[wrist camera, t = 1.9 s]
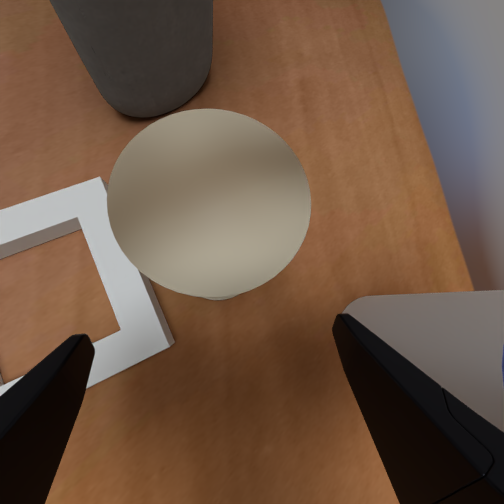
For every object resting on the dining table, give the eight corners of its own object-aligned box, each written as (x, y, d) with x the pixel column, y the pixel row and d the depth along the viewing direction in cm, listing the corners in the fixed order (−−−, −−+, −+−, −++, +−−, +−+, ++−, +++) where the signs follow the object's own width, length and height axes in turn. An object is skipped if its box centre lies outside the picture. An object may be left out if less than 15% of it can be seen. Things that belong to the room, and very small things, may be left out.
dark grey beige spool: (272, 270, 21) (348, 222, 8) (207, 316, 20) (182, 343, 7) (228, 210, 22) (238, 80, 9) (163, 250, 20) (65, 164, 8)
